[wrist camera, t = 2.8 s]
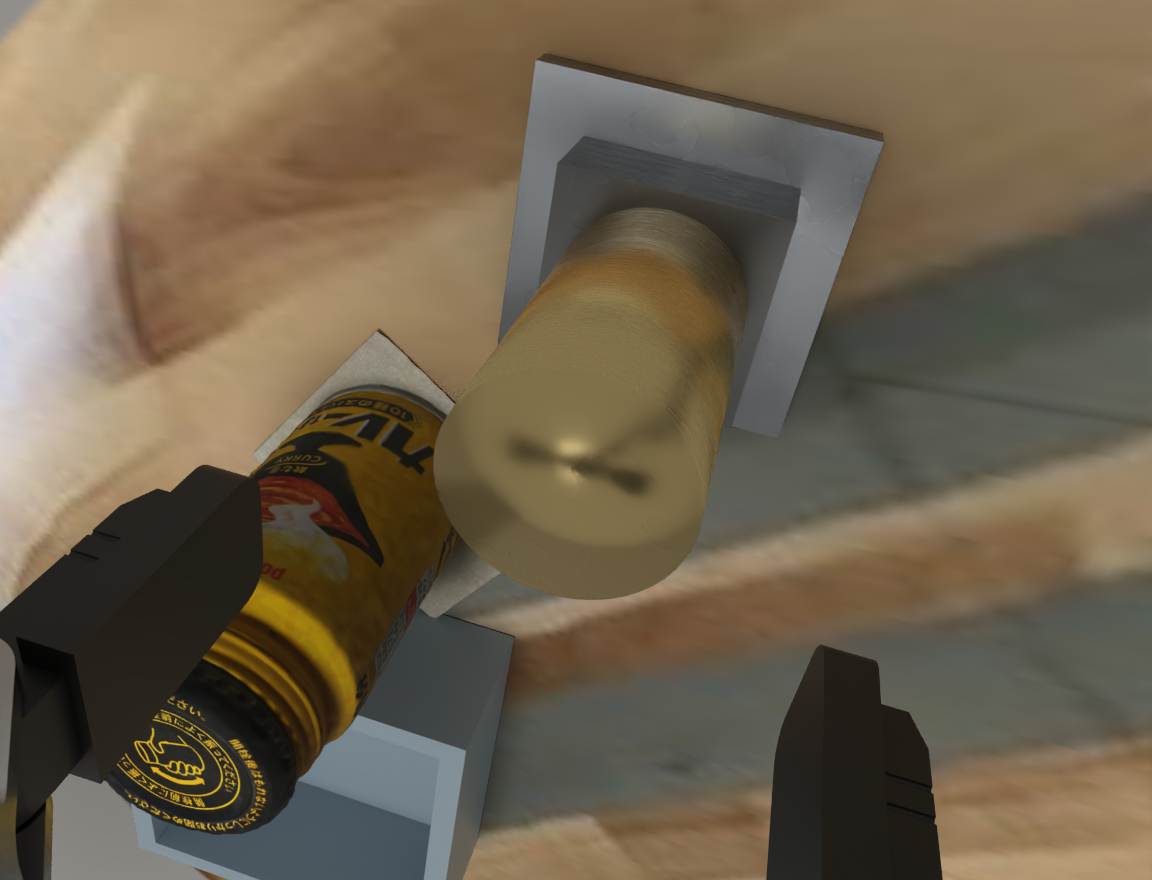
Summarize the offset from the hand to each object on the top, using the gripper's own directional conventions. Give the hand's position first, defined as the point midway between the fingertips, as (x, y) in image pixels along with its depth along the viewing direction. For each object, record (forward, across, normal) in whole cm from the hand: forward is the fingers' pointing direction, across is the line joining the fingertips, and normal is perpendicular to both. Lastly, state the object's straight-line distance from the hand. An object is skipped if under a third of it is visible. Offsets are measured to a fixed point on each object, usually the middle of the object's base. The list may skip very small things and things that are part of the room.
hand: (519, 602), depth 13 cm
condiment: (+14, +6, +9) cm, 18 cm away
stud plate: (+13, 0, 0) cm, 13 cm away
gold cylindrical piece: (+12, 0, 0) cm, 12 cm away
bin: (+13, +8, +21) cm, 26 cm away
